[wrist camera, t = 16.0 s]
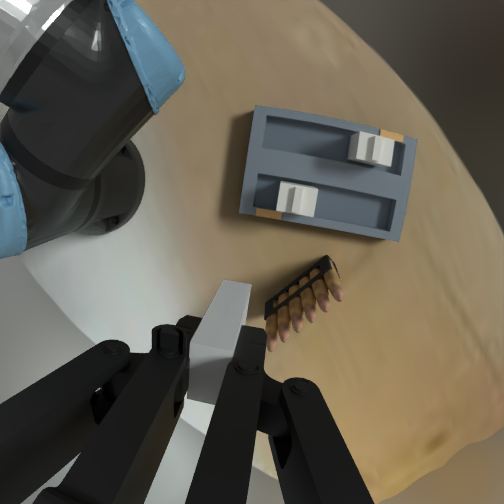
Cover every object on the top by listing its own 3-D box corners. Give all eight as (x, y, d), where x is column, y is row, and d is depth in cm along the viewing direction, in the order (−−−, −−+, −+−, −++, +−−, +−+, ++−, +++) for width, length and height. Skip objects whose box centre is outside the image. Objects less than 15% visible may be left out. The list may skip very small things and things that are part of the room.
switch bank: (241, 210, 40) (238, 213, 38) (257, 109, 37) (254, 104, 34) (392, 237, 39) (399, 242, 36) (409, 140, 36) (418, 139, 33)
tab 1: (277, 205, 38) (275, 211, 33) (280, 180, 37) (280, 182, 32) (309, 210, 38) (313, 217, 33) (314, 186, 37) (319, 189, 32)
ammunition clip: (327, 254, 41) (342, 287, 29) (335, 264, 41) (353, 301, 29) (264, 303, 43) (257, 350, 32) (273, 312, 44) (269, 361, 32)
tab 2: (347, 159, 36) (357, 158, 31) (350, 135, 35) (361, 130, 30) (377, 166, 36) (392, 166, 30) (381, 143, 35) (396, 139, 30)
